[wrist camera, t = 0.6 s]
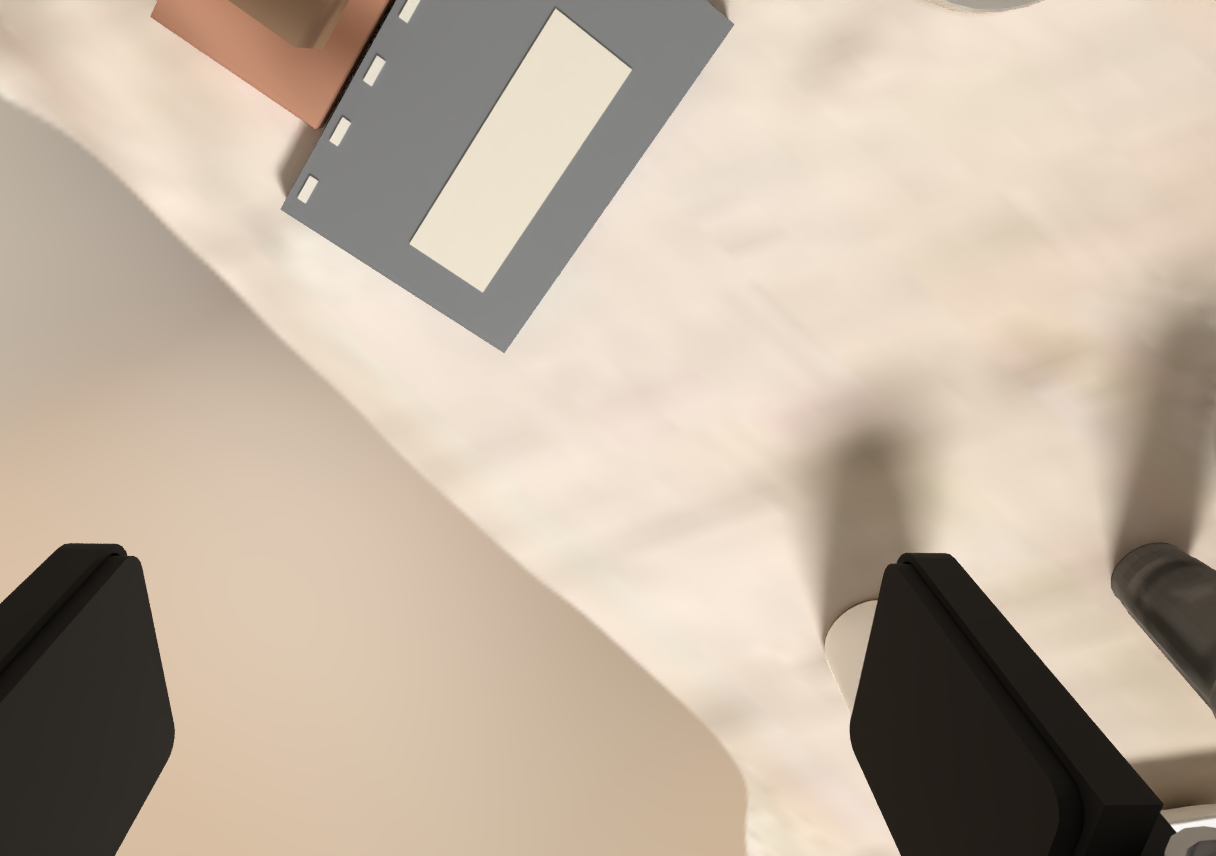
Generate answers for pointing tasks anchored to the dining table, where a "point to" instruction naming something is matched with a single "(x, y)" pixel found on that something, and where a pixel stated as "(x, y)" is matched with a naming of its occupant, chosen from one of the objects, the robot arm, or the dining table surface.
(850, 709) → the can
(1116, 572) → the beverage cup
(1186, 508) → the dining table surface
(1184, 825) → the salad plate
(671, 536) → the dining table surface
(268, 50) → the wooden t-shaped block
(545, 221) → the board
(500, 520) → the dining table surface
